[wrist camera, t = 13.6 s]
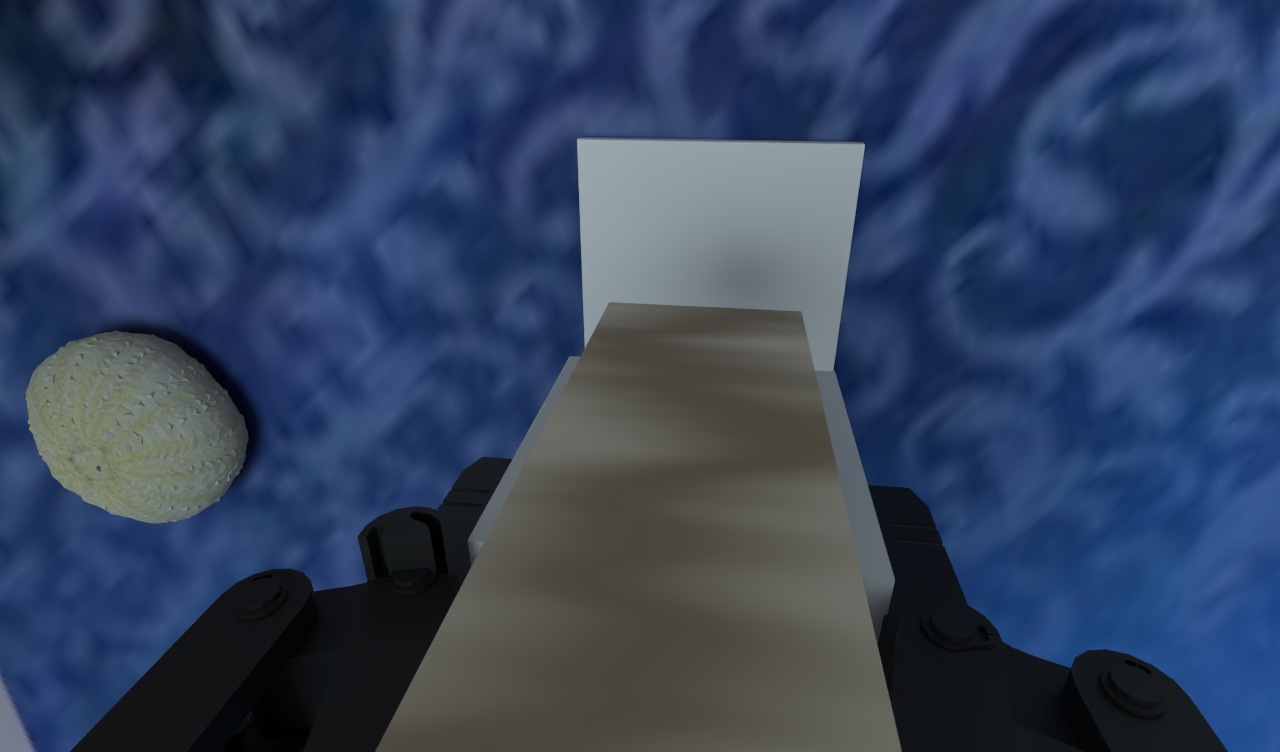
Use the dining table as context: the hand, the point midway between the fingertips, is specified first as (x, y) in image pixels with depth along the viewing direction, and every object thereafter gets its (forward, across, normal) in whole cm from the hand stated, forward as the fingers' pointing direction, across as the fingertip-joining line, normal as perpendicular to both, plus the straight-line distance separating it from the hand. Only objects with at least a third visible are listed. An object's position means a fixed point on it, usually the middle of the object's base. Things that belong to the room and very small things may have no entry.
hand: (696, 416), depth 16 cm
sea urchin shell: (+12, +26, +8) cm, 30 cm away
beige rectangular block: (+1, 0, 0) cm, 1 cm away
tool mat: (+12, 0, 0) cm, 12 cm away
